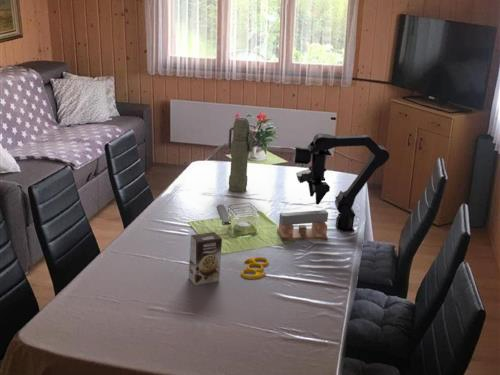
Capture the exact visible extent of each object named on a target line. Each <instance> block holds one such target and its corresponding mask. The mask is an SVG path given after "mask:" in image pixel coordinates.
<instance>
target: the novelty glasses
mask: <svg viewBox="0 0 500 375" xmlns="http://www.w3.org/2000/svg"><path fill="white" fill-rule="evenodd" d="M257 261H263V262H262V263H261V262H257ZM246 263H247V265H246V268H245V269H243V270H241V272H240V275H241V278H244V279H248V280H256V279H261V278H263V277H265V276H266V275H267V273H266V272H263V271H264V267H267V266H268V265H269V264H270V262H269V260H268V259H267V258H266V257H262V256H258V257H257V256H256V257H250V258H248V259H246V260H245V261H244V264H246ZM252 267H258V268H252ZM245 273H253V275H252V274H251V275H250V274H249V275H248V274H245Z"/></svg>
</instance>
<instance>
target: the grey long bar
mask: <svg viewBox="0 0 500 375" xmlns="http://www.w3.org/2000/svg"><path fill="white" fill-rule="evenodd" d="M328 217H329V212H328V210H326V209H322V210H320V209H319V210H310V211H309V210H307V211H306V210H305V211H295V212H293V211H292V212H280V213H279V220H278V221H279V223H280V224H281V225H293V226H294V225H305V224H312V223H319V222H325V223H326V222H328V220H329V218H328ZM279 223H278V224H279Z"/></svg>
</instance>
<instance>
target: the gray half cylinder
mask: <svg viewBox="0 0 500 375" xmlns="http://www.w3.org/2000/svg"><path fill="white" fill-rule="evenodd" d="M216 211H217V213H218V216H219V218H220V221H221V220H222V222H221V224H222V223H229V219H230V218H229V219H228V216H229V213H228V211H227V208H226V206H225V205H224V204H217V205H216Z"/></svg>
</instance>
